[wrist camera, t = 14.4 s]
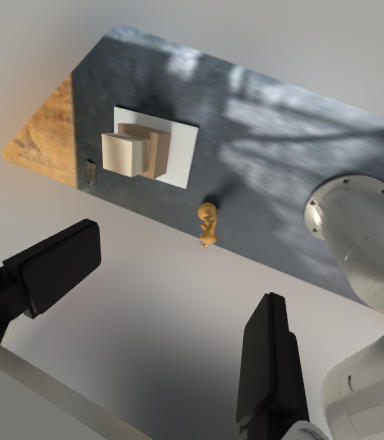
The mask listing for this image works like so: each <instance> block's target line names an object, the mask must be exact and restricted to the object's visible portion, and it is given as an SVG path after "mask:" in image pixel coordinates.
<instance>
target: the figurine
mask: <svg viewBox="0 0 384 440" xmlns="http://www.w3.org/2000/svg"><path fill="white" fill-rule="evenodd" d="M216 214H217V209H216V207H215V206H214V205H213V204H212V203H209V202H206V203H203V204H201V205H200V207H199V209H198V215H199V217H200V218H201V219H202V220H204V221H205V223H204V224H202V225H201V227H202V228H203V230H204V233H203V234H202V235H200V239H201V240H203V241H206V244H203V243H202V242H201V241H200V243H201V245H202V246H204V247H205V248H207V247H208V246H209V244H210V243H215V242H216V241H217V234H216V233H215V227H216V224H217V217H216ZM213 219H214V222H212V221H211V220H213Z"/></svg>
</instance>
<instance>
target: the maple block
mask: <svg viewBox="0 0 384 440" xmlns="http://www.w3.org/2000/svg"><path fill="white" fill-rule="evenodd" d="M150 142H151V140H149V139H145V138H141V137H137V136H134V135H130V134H126V133H110V134H102V148H103V168H104V169H107V170H110V171H113V172H117V173H120V174H123V175H126V176H129V177H133V176H136V175H138V174H141V173H143V172H146V171H148V169H149V155H150Z"/></svg>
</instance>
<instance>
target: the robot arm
mask: <svg viewBox="0 0 384 440" xmlns="http://www.w3.org/2000/svg"><path fill="white" fill-rule="evenodd" d="M345 179H346V181H345V182H343V181H344V180H345ZM382 190H383V191H382ZM381 191H382V192H381ZM311 201H313V202H311ZM303 215H304V221H305V224H306V226H307V228H308V229H309V231H310V232H311V233H312V234H313V235H314V236H316V237H317V238H319V239H321V240H323V241H326V243H327V244H328V246H329V248H330V250H331V252H332V253H333V255H334V257H335V259H336V261H337V263H338V264H339V266H340V268H341V270H342V272H343V273H344V275H345V277H346V279H347V281H348V282H349V284H350V286H351V287H352V289H353V290H354V292H355V293H356V294H357V295H358V297H359V298H360V299H361V300H362V301H364V302H365V303H366V304H367V305H369V306H370V307H372V308H373V309H375V310H377V311H378V312H380V313H382V314H384V183H383V182H381V181H380V180H378V179H375V178H373V177H369V176H365V175H346V176H341V177H337V178H335V179H332V180H329V181H328V182H326V183H324V184H322V185H321V186H320V187H318V188H317V189H316V190H315V191H314V192H313V193H312V194H311V195H310V196H309V198H308V200H307V201H306V204H305V206H304V212H303ZM314 228H315V229H314ZM100 263H101V249H100V231H99V226H98V224H97V222H94V221H92V220H89V219H84V220H82V221H80V222H78V223H76V224H74V225H72V226H70V227H68V228H66V229H65V230H62V231H60V232H59V233H57V234H55V235H53V236H51V237H49V238H47V239H45V240H43V241H41V242H39V243H37V244H35V245H34V246H32V247H30V248H28V249H26V250H24V251H22V252H20V253H18V254H16V255H14V256H12V257H10V258H9V259H6V260H4V261H3V265H4V266H2V267H0V440H152V439H151V438H149V437H148V436H146V435H145V434H143V433H141V432H140V431H138V430H137V429H135V428H133V427H132V426H130V425H129V424H127V423H125V422H124V421H122V420H121V419H119V418H117V417H116V416H114V415H113V414H111V413H109V412H108V411H106V410H105V409H103V408H101V407H100V406H98V405H96V404H95V403H93V402H92V401H90V400H88V399H87V398H85V397H84V396H82V395H80V394H79V393H77V392H76V391H74V390H72V389H71V388H69V387H67V386H66V385H64V384H62V383H61V382H59V381H58V380H56V379H55V378H53V377H51V376H50V375H48V374H46V373H45V372H43V371H42V370H40V369H38V368H37V367H35V366H33V365H32V364H30V363H29V362H27V361H25V360H23V359H22V358H20V357H18V356H17V355H15V354H14V353H12V352H11V351H9V350H7V349H6V346H7V344H8V342H9V339H10V336H11V334H12V331H13V329H14V326H15V324H16V321H17V318H18V316H19V315H21V314H22V313H24V315H26V316H28V317H29V318H31V319H34V318H35V317H37V316H38V315H39V314H43V313H44V312H46V311H47V310H48V309H49V308H50V307H51V306H53V305H54V304H55V303H56V302H57V301H59V300H60V299H61V298H62V297H63V296H64V295H66V293H68V292H69V291H70V290H71V289H73V288H74V287H75V286H76V285H77V284H79V283H80V282H81V281H82V280H83V279H84V278H86V277H87V276H88V275H89V274H90V273H91V272H93V271H94V270H95V269H96V268H97V267H98V266H99V265H100ZM321 403H322V409H323V413H324V416H325V419H326V423H327V425H328V428H329V431H330V433H331V435H332V437H333V440H384V336H382V337H380V338H379V340H377V341H375V342H374V343H372V344H370V345H369V346H367V347H365V348H364V349H362V350H360V351H359V352H357V353H355V354H354V355H352V356H350V357H349V358H347V359H346V360H344V361H343V362H341V363H339V364H338V365H337V366H335V367H334V368H333V369H331V370H330V372H329V373H328V374H327V375H326V377H325V379H324V381H323V383H322V388H321ZM236 421H237V423H238V424H240V435H241V436H243V437H244V438H246V439H247V440H329V439H328V438H327V436H326V435H325V434H324V433H323V432H322V431H321V430H320V429H319V428H318V427H316V426H315V425H314V424H312V423H310V420H309V414H308V408H307V401H306V395H305V389H304V383H303V376H302V370H301V364H300V357H299V351H298V345H297V340H296V336H295V335H294V333H292V332H290V331H289V327H288V319H287V312H286V304H285V298H284V297H282V296H280V295H278V294H275V293H273V292H270V294H265V295H264V296H263V298H262V300H261V301H260V303H259V304H258V306H257V308H256V309H255V311H254V313H253V314H252V316H251V318H250V319H249V321H248V323H247V324H246V326H245V330H244V337H243V348H242V359H241V370H240V380H239V391H238V402H237V413H236Z"/></svg>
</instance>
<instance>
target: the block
mask: <svg viewBox="0 0 384 440" xmlns="http://www.w3.org/2000/svg"><path fill="white" fill-rule="evenodd" d="M84 177H85V181H86V182H87V183H88V184H95V183H96V164H95V163H93V162H91V161H89V160H86V167H85V176H84Z"/></svg>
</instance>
